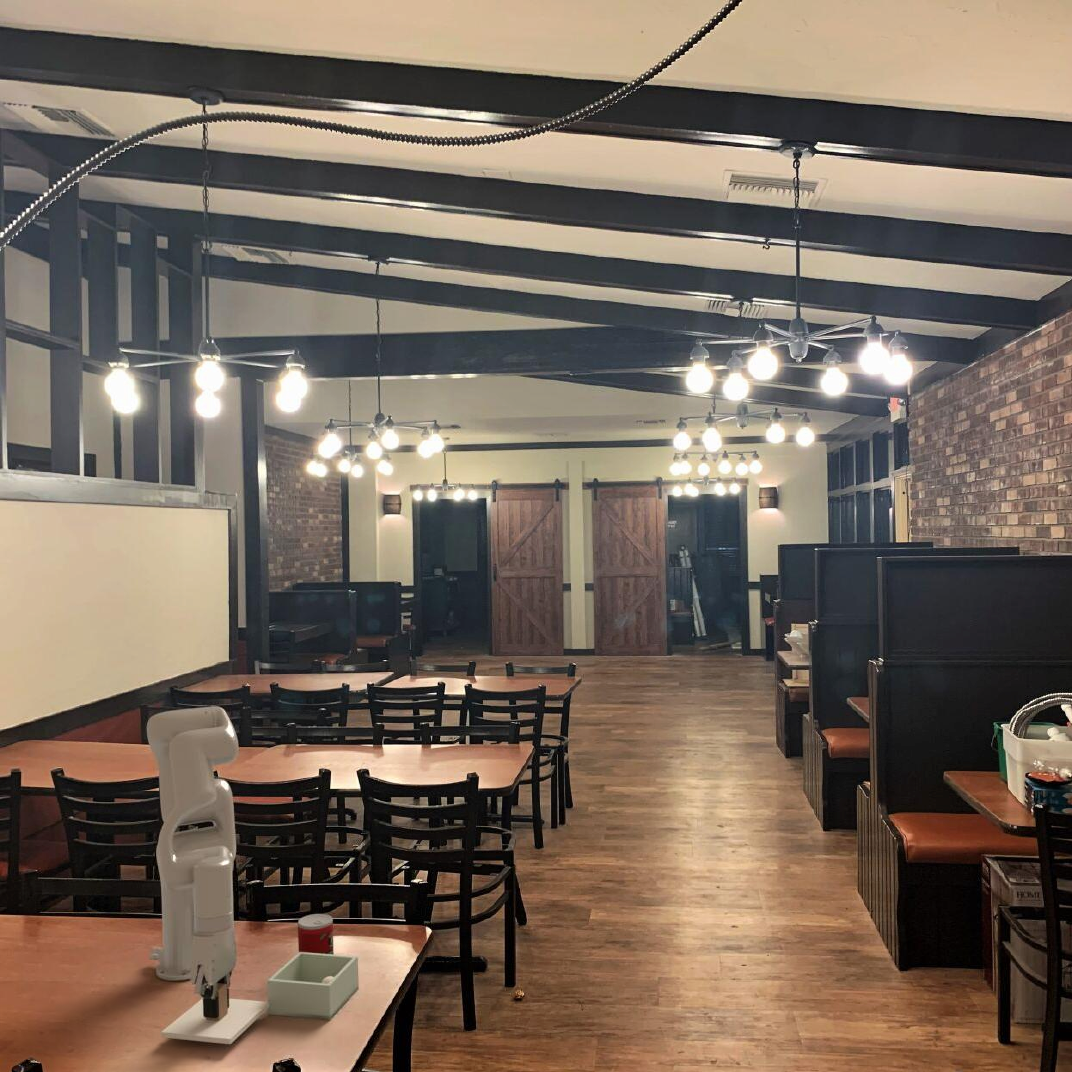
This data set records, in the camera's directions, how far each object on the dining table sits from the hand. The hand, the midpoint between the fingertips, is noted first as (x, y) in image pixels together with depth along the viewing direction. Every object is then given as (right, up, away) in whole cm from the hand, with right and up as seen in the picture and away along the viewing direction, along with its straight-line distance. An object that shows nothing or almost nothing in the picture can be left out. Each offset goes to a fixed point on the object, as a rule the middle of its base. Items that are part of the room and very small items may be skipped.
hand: (216, 1011), depth 193 cm
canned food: (+14, -4, +28) cm, 31 cm away
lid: (0, -2, 0) cm, 2 cm away
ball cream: (+20, -1, +13) cm, 24 cm away
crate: (+17, -3, +11) cm, 21 cm away
